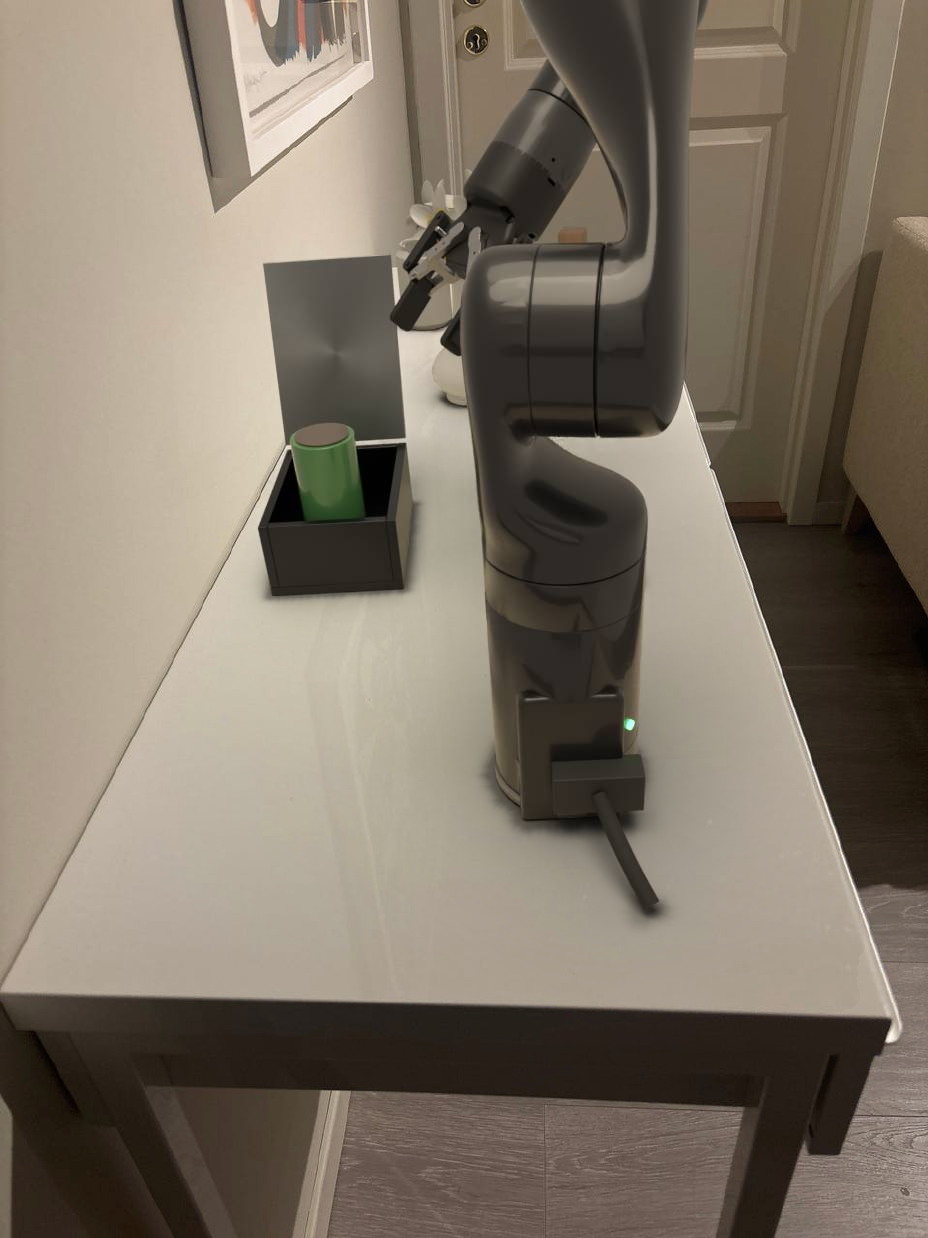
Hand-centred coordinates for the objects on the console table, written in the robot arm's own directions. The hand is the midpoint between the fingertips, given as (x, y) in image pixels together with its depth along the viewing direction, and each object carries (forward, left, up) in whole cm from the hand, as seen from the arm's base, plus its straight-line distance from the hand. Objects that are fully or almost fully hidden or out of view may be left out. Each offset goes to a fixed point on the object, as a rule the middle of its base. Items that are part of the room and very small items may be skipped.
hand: (422, 337), depth 81 cm
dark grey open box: (-2, +9, -19) cm, 21 cm away
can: (+64, +4, -19) cm, 67 cm away
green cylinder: (-6, +9, -18) cm, 21 cm away
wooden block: (+81, -19, -14) cm, 85 cm away
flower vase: (+33, -3, -19) cm, 38 cm away
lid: (+7, +9, -3) cm, 12 cm away
